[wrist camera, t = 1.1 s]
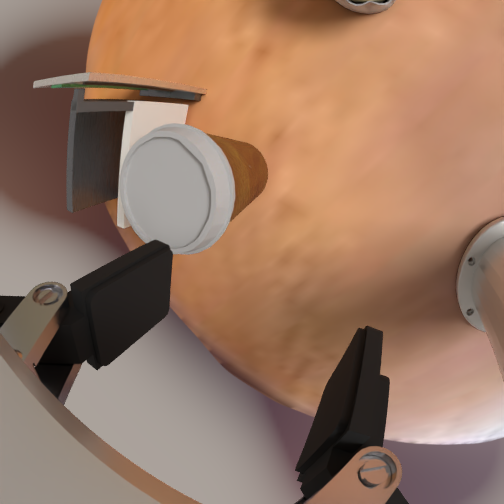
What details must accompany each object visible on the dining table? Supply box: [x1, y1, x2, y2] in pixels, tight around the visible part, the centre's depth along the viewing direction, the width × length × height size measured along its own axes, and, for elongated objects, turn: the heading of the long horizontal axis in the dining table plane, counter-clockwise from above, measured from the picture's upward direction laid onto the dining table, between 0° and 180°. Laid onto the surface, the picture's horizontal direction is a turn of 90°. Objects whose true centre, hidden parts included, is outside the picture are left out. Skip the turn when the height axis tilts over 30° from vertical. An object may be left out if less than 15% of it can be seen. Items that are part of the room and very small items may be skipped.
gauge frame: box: [33, 72, 207, 213], centre depth 25 cm, size 10×15×15 cm, turn 167°
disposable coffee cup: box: [120, 123, 268, 254], centre depth 24 cm, size 10×10×12 cm
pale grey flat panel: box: [71, 89, 188, 229], centre depth 24 cm, size 1×13×14 cm, turn 167°
